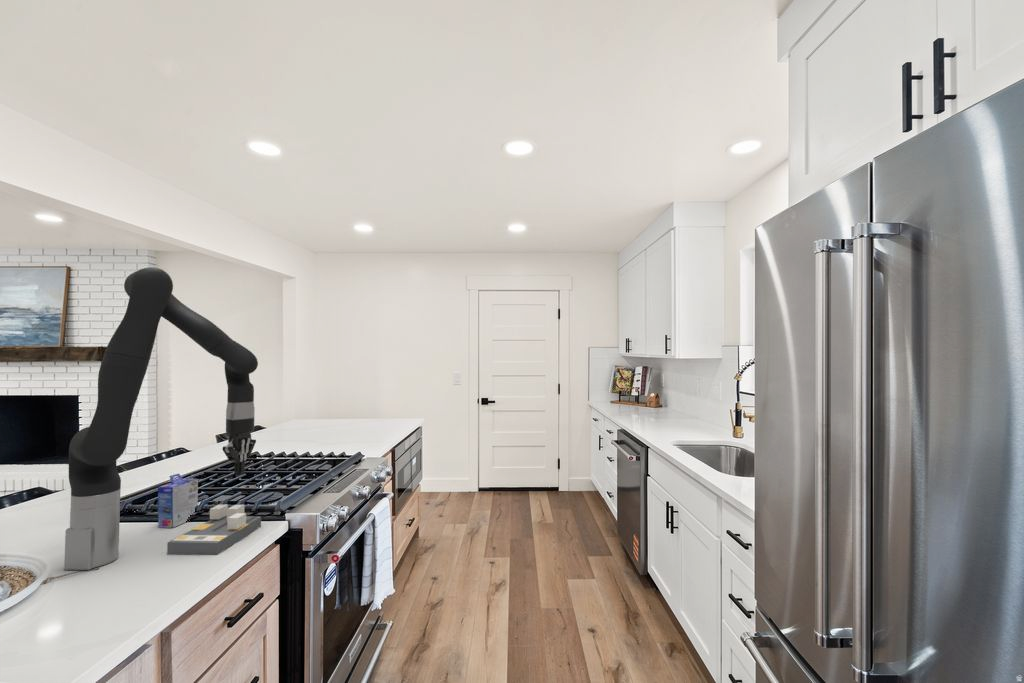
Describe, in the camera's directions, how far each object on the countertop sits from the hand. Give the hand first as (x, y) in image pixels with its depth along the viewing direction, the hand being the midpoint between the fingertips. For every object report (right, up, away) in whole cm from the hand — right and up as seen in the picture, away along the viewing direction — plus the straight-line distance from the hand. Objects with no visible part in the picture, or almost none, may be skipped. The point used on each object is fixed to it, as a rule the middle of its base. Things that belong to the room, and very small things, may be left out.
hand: (239, 473), depth 142 cm
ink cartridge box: (-20, -15, +1) cm, 25 cm away
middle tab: (+1, -12, -4) cm, 12 cm away
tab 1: (-4, -12, -4) cm, 13 cm away
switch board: (+1, -15, -12) cm, 19 cm away
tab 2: (+6, -11, -12) cm, 18 cm away
